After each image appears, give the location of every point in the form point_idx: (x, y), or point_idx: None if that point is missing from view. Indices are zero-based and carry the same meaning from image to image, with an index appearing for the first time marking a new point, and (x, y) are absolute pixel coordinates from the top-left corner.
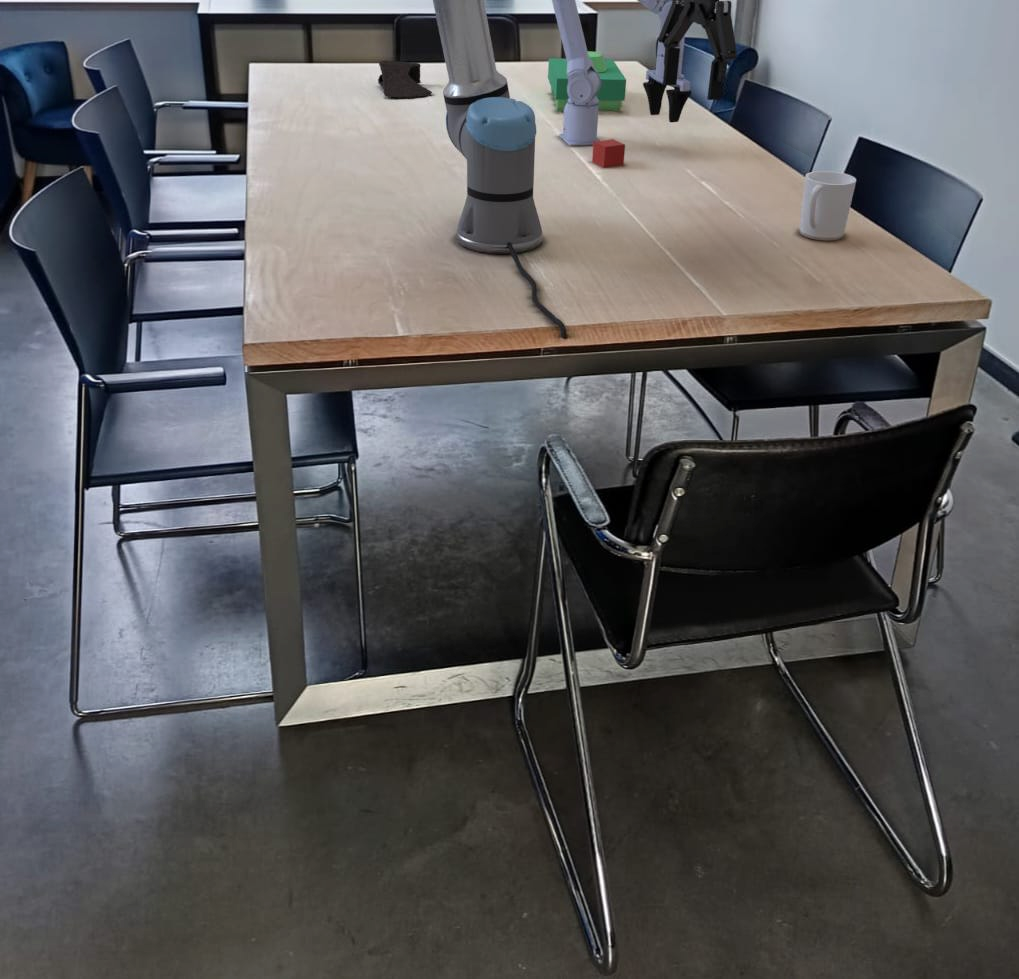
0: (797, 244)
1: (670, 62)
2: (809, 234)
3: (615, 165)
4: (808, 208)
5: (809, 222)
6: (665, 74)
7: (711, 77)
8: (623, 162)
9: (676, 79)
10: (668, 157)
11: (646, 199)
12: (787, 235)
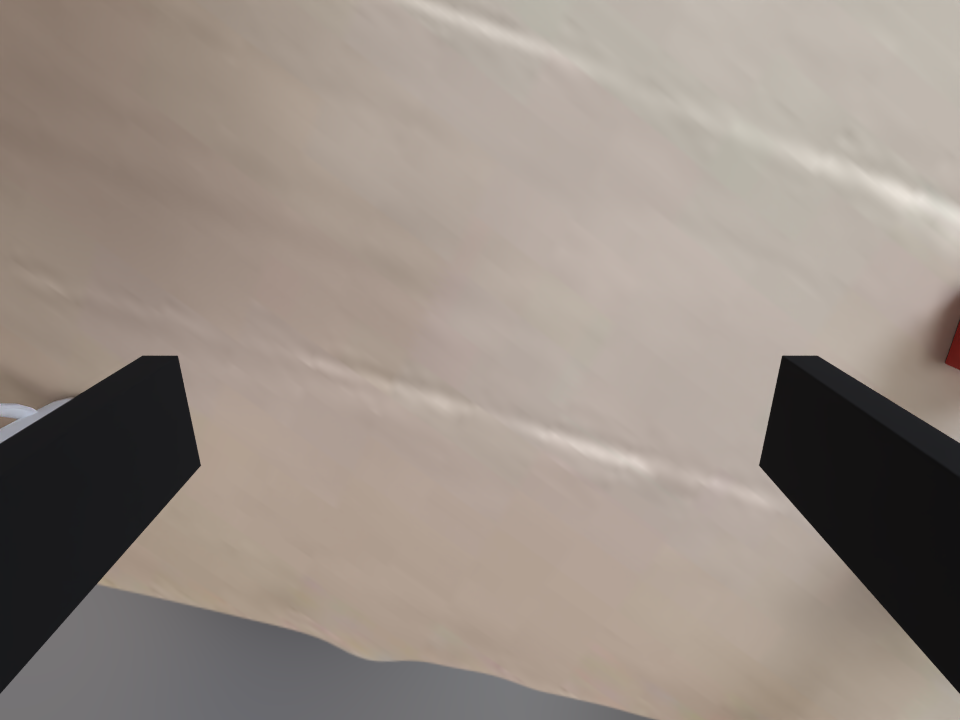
0: (32, 339)
1: (916, 502)
2: (57, 401)
3: (957, 331)
4: (15, 431)
5: (14, 404)
6: (849, 394)
7: (12, 448)
8: (952, 364)
9: (779, 484)
10: None
11: (595, 194)
12: (113, 366)
